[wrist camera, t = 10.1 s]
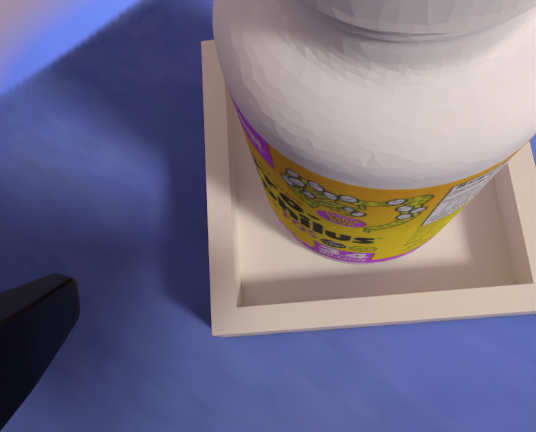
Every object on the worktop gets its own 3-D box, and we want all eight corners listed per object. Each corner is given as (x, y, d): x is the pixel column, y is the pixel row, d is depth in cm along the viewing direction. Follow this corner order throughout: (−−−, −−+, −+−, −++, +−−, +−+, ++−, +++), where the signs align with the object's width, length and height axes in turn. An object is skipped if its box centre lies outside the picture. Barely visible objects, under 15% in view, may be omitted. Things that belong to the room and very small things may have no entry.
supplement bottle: (229, 172, 18) (34, -197, 6) (362, 61, 19) (431, -479, 7) (354, 311, 17) (440, 190, 4) (497, 184, 17) (936, -248, 5)
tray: (224, 337, 17) (211, 335, 15) (213, 70, 20) (201, 41, 18) (539, 313, 16) (567, 308, 15) (480, 37, 19) (497, 2, 17)
